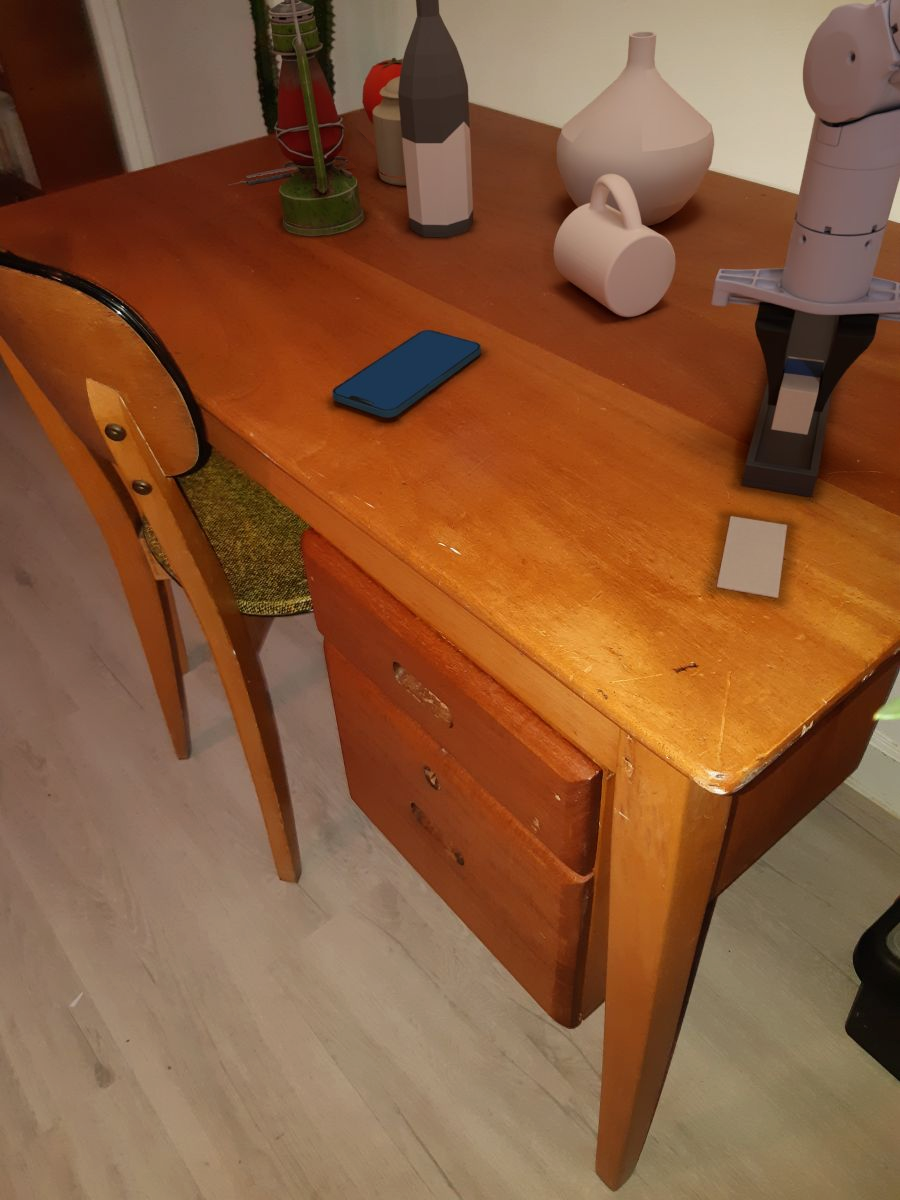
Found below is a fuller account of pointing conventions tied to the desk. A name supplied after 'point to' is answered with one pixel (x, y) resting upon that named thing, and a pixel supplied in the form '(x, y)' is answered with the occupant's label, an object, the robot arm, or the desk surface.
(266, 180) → the syringe
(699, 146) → the vase
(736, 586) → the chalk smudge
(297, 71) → the lantern
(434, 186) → the wine bottle
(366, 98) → the tomato
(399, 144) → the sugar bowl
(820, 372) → the eraser
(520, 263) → the desk surface
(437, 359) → the smartphone
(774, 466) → the tray
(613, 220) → the mug
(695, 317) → the desk surface
